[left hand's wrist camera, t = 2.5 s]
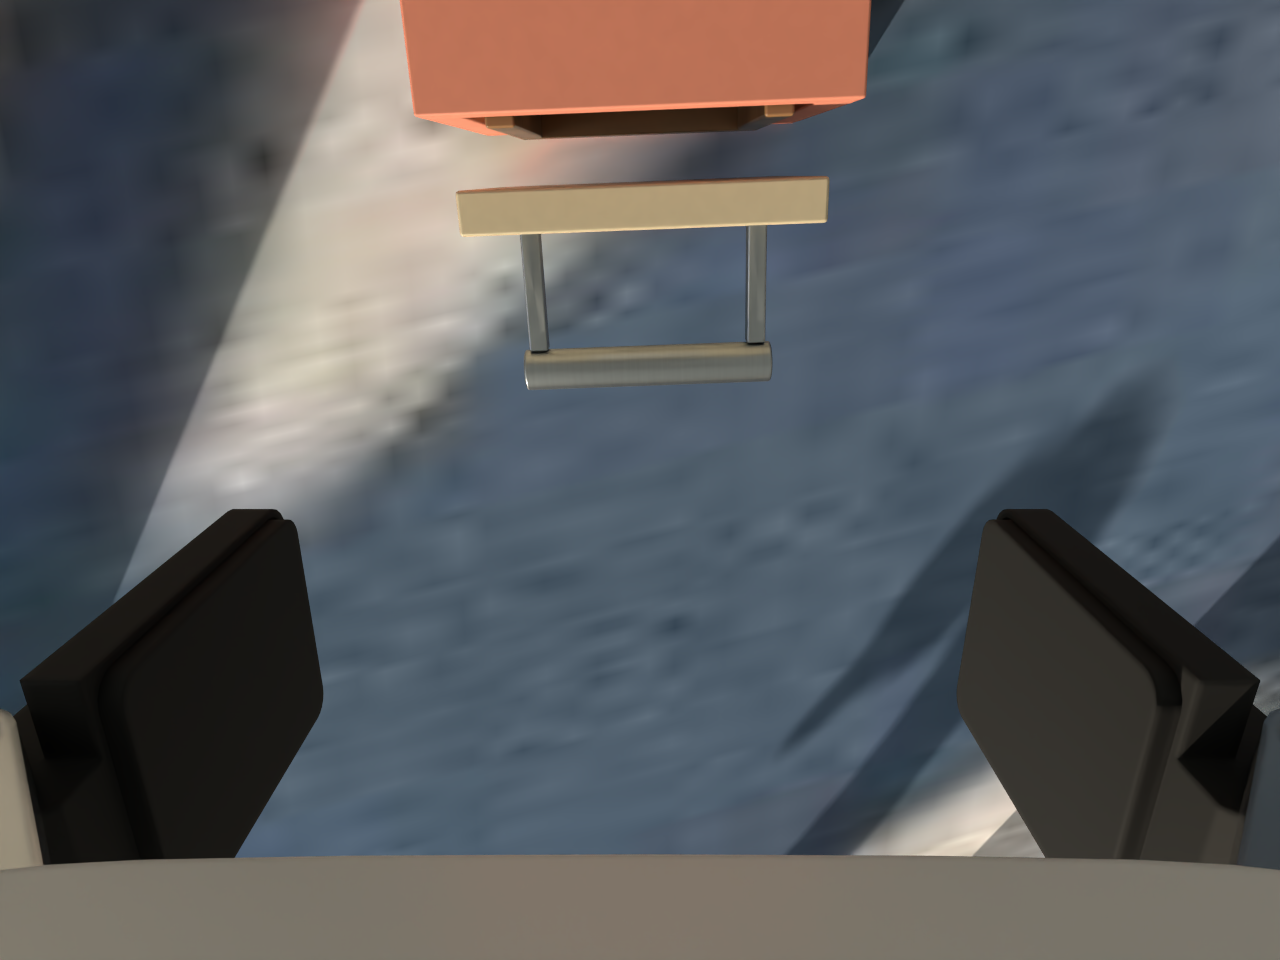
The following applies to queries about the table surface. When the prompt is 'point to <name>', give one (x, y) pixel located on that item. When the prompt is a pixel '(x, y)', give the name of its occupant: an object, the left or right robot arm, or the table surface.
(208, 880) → the left robot arm
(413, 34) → the cabinet
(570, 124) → the drawer
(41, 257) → the table surface
